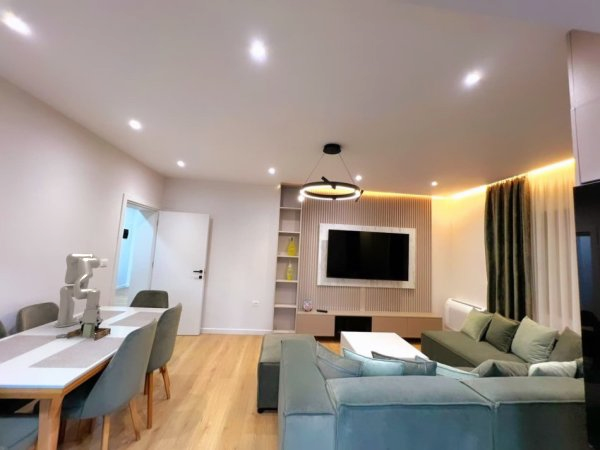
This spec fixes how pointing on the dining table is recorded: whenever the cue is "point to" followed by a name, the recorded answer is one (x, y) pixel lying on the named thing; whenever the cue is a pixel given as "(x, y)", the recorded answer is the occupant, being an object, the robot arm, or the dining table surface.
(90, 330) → the sage block
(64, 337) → the slate coaster
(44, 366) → the dining table surface
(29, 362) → the dining table surface
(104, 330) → the wooden u-shaped frame
